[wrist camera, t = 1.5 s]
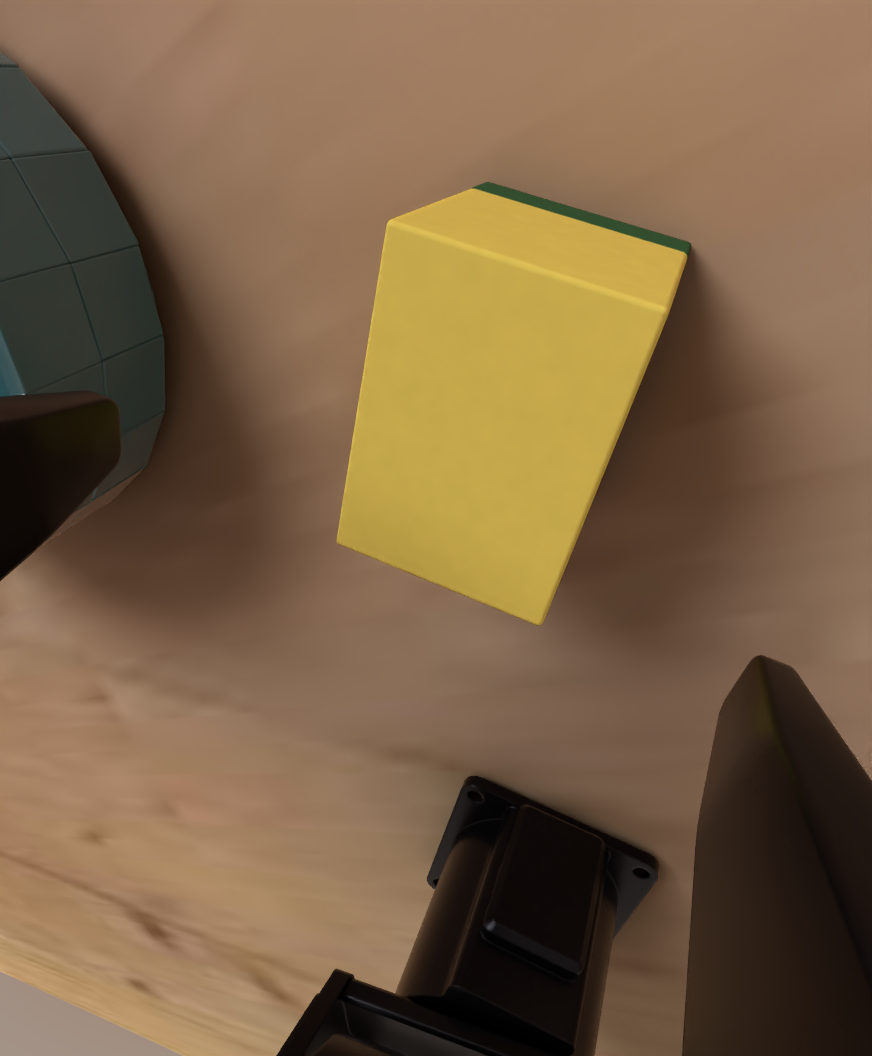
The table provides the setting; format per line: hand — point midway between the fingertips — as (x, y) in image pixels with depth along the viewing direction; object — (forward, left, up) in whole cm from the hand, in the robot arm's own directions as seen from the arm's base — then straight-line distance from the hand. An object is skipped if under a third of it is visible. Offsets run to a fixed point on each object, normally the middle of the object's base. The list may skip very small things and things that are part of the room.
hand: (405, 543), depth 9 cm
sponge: (0, 0, -8) cm, 8 cm away
